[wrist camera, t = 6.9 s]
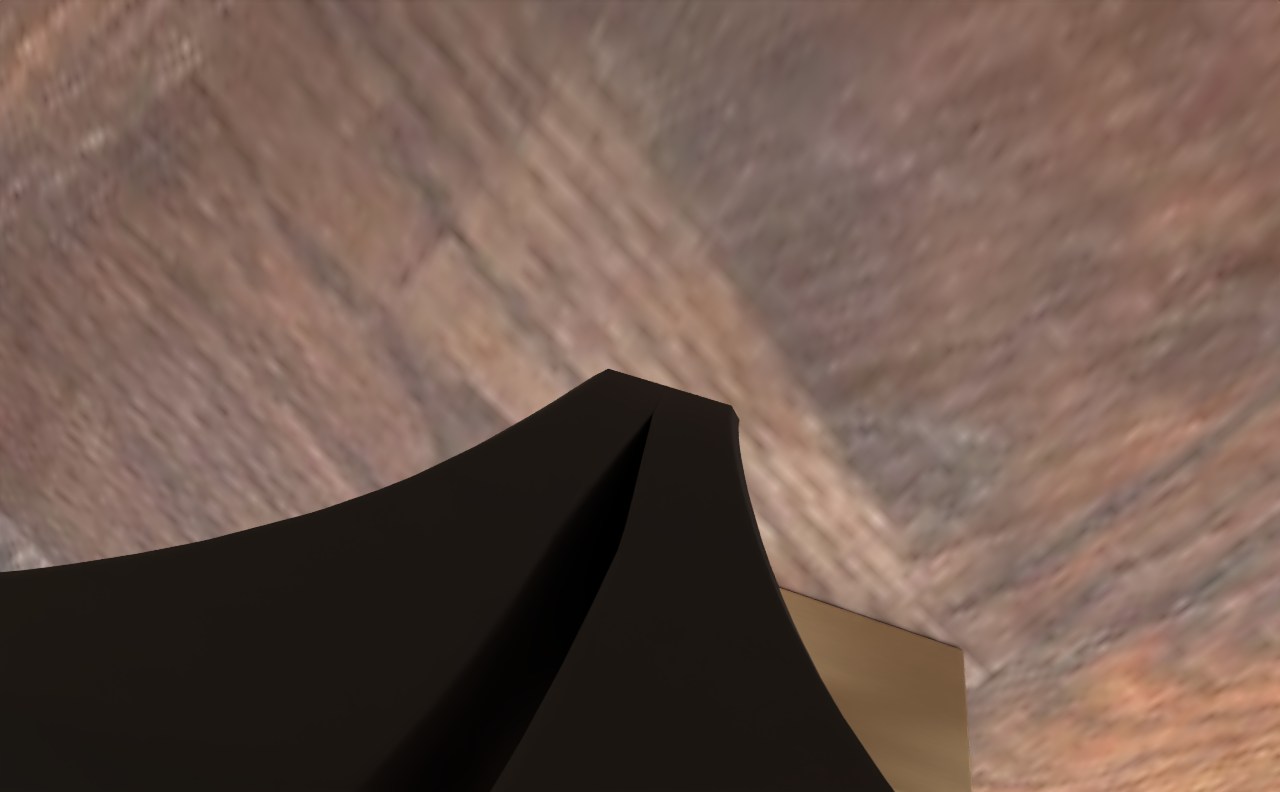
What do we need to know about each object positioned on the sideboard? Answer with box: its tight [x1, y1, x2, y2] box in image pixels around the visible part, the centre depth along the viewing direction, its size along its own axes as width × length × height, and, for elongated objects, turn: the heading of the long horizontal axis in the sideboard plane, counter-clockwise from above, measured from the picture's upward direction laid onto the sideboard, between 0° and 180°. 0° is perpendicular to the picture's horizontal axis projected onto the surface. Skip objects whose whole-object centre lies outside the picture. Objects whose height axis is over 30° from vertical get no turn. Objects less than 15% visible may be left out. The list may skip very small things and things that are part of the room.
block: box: [779, 588, 972, 792], centre depth 21 cm, size 4×4×4 cm
